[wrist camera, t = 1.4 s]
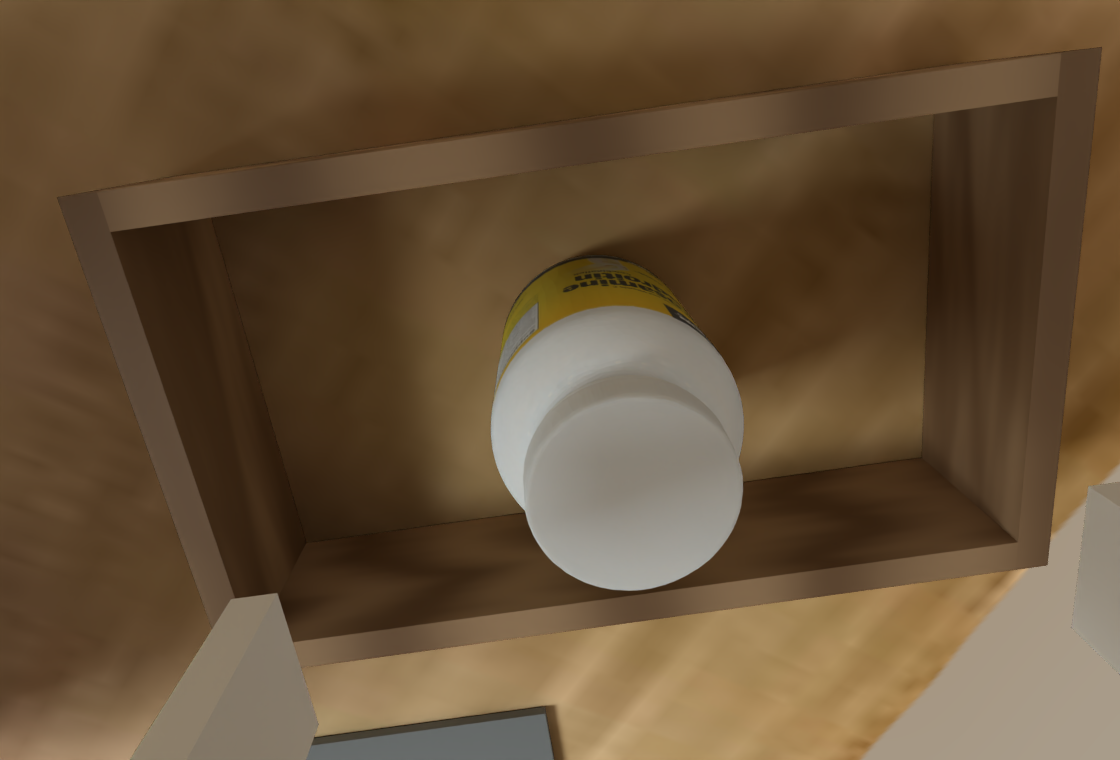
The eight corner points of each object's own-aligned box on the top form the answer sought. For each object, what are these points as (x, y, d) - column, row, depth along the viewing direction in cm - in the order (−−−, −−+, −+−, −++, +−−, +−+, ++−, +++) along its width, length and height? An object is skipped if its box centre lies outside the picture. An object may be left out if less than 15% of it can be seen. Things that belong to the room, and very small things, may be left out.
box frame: (287, 568, 29) (229, 678, 24) (167, 177, 24) (57, 197, 18) (946, 477, 29) (1047, 565, 23) (966, 62, 24) (1102, 47, 18)
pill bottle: (719, 342, 27) (851, 501, 16) (588, 457, 28) (625, 676, 17) (597, 209, 25) (650, 285, 14) (463, 339, 26) (417, 499, 15)
